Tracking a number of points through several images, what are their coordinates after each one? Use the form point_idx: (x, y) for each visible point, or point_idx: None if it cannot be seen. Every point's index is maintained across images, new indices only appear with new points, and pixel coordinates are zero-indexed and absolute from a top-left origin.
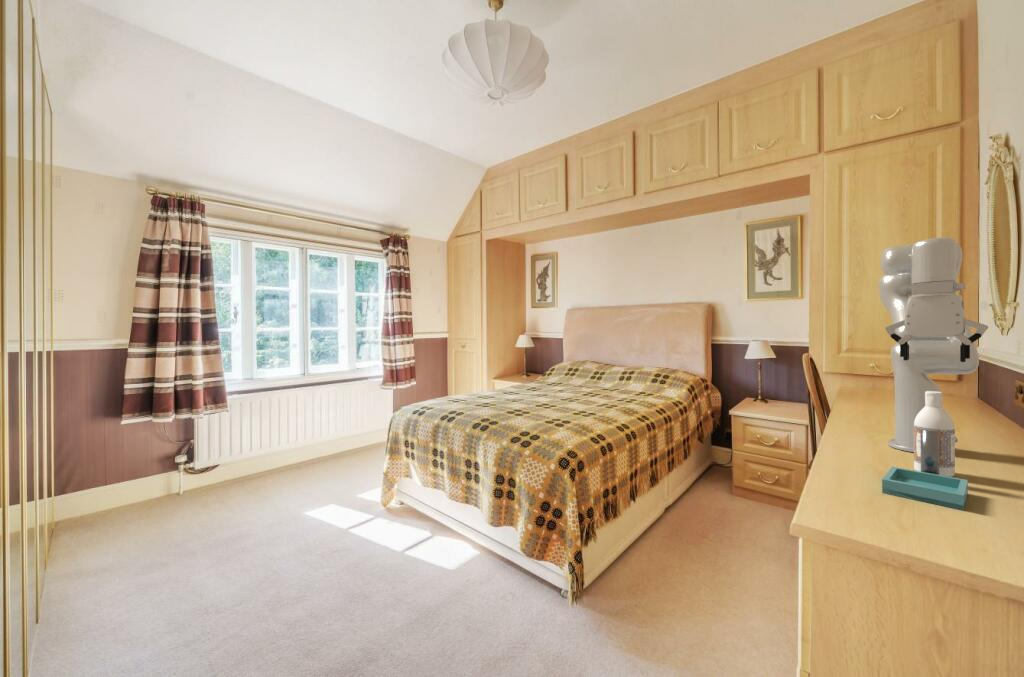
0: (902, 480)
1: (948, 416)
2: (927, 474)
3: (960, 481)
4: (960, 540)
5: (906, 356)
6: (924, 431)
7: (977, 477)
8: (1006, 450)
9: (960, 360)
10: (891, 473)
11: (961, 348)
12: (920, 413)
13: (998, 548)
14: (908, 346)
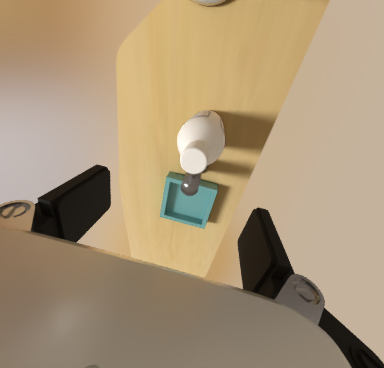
0: (175, 186)
1: (215, 158)
2: None
3: (211, 197)
4: (193, 258)
5: (100, 214)
6: (183, 192)
7: (244, 120)
8: None
9: (238, 243)
10: (165, 199)
11: (246, 287)
12: (181, 152)
13: (206, 260)
14: (69, 217)
